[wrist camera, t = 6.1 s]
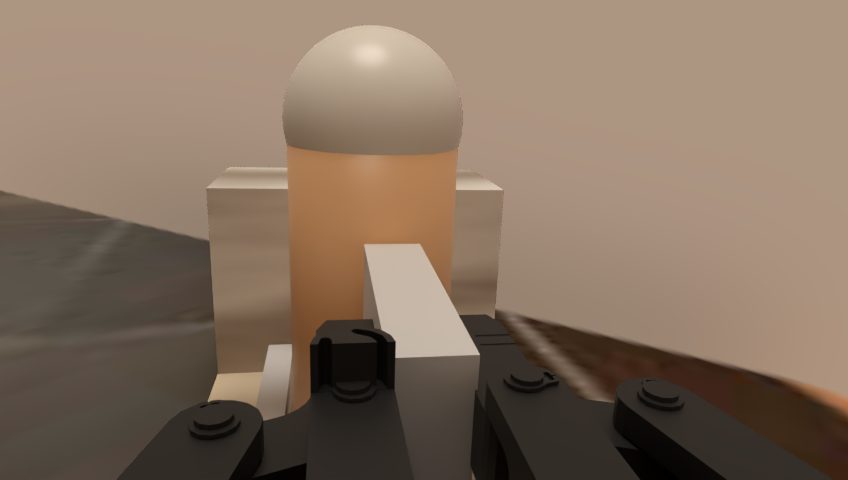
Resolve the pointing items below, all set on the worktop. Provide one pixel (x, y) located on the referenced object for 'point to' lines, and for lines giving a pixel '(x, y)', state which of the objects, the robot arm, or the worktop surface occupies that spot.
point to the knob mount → (270, 277)
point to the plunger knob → (364, 170)
